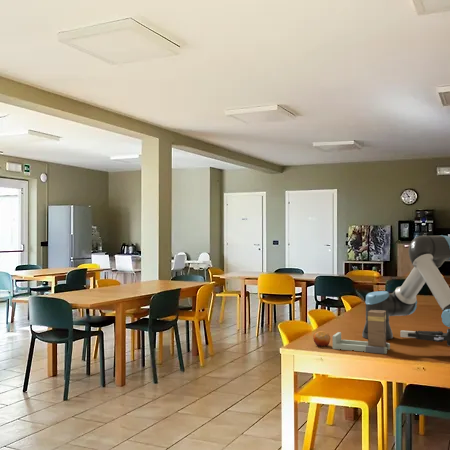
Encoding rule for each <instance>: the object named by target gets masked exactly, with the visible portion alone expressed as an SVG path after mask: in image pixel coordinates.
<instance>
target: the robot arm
mask: <svg viewBox="0 0 450 450" xmlns="http://www.w3.org/2000/svg"><path fill="white" fill-rule="evenodd" d="M407 253H408V257H409V261H410V262H411V264H412V266H413V268H412V269H411V271H410V273H409V274H408V276H407V277H406V279H405V280H404V281H403V283H402V285H401V286H397V287H396V288H395V290H394V291H393V292H392V293H390V292H389V291H386V290H380V291H379V290H378V291H377V290H376V291H372V292H368V293H367V294H366V295H365V324H364V327H363V330H362V338H364V339H367V340H368V311H370V310H382V311H386V341H387V340H392V339H393V338H394V335H393V330H392V327H391V324H390V317H396V316H397V317H401V316H403V317H404V316H410V315H412V314H413V313H415V312H416V309H417V307H418V305H417V304H418V300H417V295H418V294H419V292H420V291H421V290H422V289H423V286H424V285H425V284H426V285H427V287H428V288H429V290H430V292H431V293H432V296H433V297H434V299H435V300H436V302H437V303H438V306H439V307H440V309H441V311H442V313H441V322H442V323H443V325H444V326H446V327H447V329H446V332H443V331H441V330H438V331H436V330H435V331H434V330H433V331H431V330H415V331H413V330H400V332H399V333H400V338H409V339H410V338H412V339H416V340H421V341H430V342H436V343H439V342H440V343H442V342H444V341H445V342H446V345H447V346H448V347H450V286H449V284H448V283H447V282H446V280H445V278H444V276H443V274H442V273H441V272H440V270H439V268H440V267H442V265H443V264H444V263H445V261H450V236H448V235H443V234H441V235H420V236H416V237H414V239H412V240H411V242H410V243H409V246H408V252H407Z"/></svg>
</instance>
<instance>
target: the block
mask: <svg viewBox="0 0 450 450" xmlns="http://www.w3.org/2000/svg"><path fill="white" fill-rule="evenodd" d="M367 342H368V346H379V347H386V343H387V340H386V311H382V310H370V311H368V339H367Z"/></svg>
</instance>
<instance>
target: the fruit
mask: <svg viewBox="0 0 450 450" xmlns="http://www.w3.org/2000/svg"><path fill="white" fill-rule="evenodd" d="M313 341H314V344H315V345H316V346H317V347H328V346H329V345H330V341H331V336H330V333H328V332H326V331H325V330H320V331H316V332H315V333H314V334H313Z"/></svg>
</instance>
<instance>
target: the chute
mask: <svg viewBox="0 0 450 450" xmlns="http://www.w3.org/2000/svg"><path fill="white" fill-rule="evenodd" d="M332 349H333V350H340V349H341V351H352V350H354V352H363V351H364V352H365V353H370V354H371V353H372V354H379V355H380V354H383V355H384V354H385V355H387V353H388V350H391V343H389V342H386V347H379V346H368V341H366V340H365V341H362V340H353V339H352V340H351V339H342V332H341V331H337V332H336V333H335V334H333V335H332Z"/></svg>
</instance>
